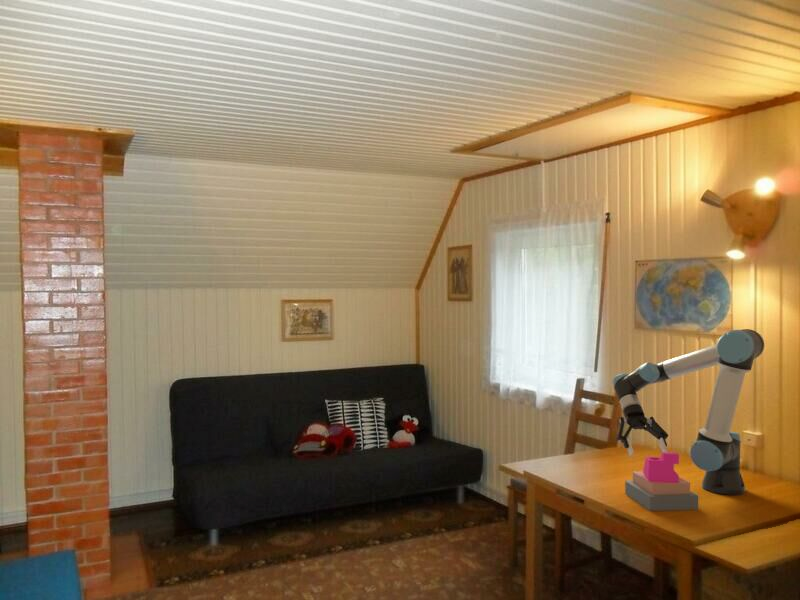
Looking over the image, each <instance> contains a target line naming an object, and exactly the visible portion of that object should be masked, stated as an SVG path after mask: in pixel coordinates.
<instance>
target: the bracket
mask: <svg viewBox="0 0 800 600" xmlns="http://www.w3.org/2000/svg"><path fill="white" fill-rule="evenodd" d="M661 452H662V451H661ZM675 465H680V454H679V453H678V452H670V451H668V452H662V453H661V456H646V457H645V461H644V464H643V467H642V468H643V469H642V471H643V473H644V475H645V477H646V478H647V480H648V481H650V482H668V483H679V477H680V476H679V475H678V473H677V472H676V471H675Z"/></svg>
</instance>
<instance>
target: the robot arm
mask: <svg viewBox="0 0 800 600" xmlns="http://www.w3.org/2000/svg"><path fill="white" fill-rule="evenodd" d="M764 348H765V340H764V338H763V337H762V335H761V334H760V333H759V332H757V331H755V330H753V329H750V328H748V329H747V328H745V329H733V330H728V331H727V332H725V333H724V334H722V335H721V336H720V337H719V339H718V341H717V343H716V344H713V345H710V346H708V347H704V348H702V349H698V350H695V351H692V352H689V353H686V354H683V355H680V356H676V357H674V358H671V359H668V360H667V359H666V360H665V361H662V362H658V363H655V364H654V363H653V362H651V361H646V362H645V363H644V364H641V365H640V366H639V367H638V368H636V369H634V370H633V371H631V373H630V374H628V373H620V374H617V375H615V376H614V377H613V379H612V385H613V389H614V391H615V393H616V395H617V396H616V397H617V398H618V402H619V405H620V408H621V410H622V413H623V415H624V416H623V417H622V416H621V417H620V418H619V420H618V424H619V426H618V430H617V436H616V440H617V441H620V442H621V443H622V444H623V446H624V448H625V449H627V453H628V455H629V457H630V458H633V456H634V454H635V451H634V448H633V446H632V442H631V440H630V438H628V437H629V435H630V433H631V431H632V429H633V430H644V431H646V432H647V433H649V434H650V435H652V436H653V437H654V438H656V439H658V444H659V448H660V450H661V452H669V451H668V448H667V446H668V443H667V441H666V439H667V438H668V436H669V434H668V433H667V432H666V431H665V429H663V427H662V426H661V425H659V424H658V422H657V421H656V420H655V418H654V417H653V416H650V417H646V416H645V412H644V410H643V407H642V403H641V402H640V399H639V397H638V394H637V393H638V392H639V391H641V390H642V389H644V388H645V387H647V386H649V385H652V384H653V385H654V384H657V383H664V382H665V381H668V380H670V379H671V380H672V379H674V378H677V377H678V378H679V377H680V376H684V375H687V374H691V373H695V372H697V371H701V370H704V369H707V368H710V367H714V366H717V365H718V366H719V370H718V374H717V378H716V381H715V385H714V388H713V393H712V396H711V400H710V401H711V402H710V404H709V409H708V413H707V416H706V419H705V424H704V426H703V427H702V428H700V429H699V430H698V434H697V437H696V441H695V442H693V443H692V445H691V446H690V448H689V457H690V460H691V461H692V463H693V465H695V466H696V467H697V468H699V469H700V470H702V471H705V473H704V476H703V479H702V481H701V487H702V488H703V489H704V490H705V491H707V492H712V493H714V494H720V495H721V494H722V495H730V496H733V495H736V496H737V495H743V494H744V493H745V492H746V485H745V482H744V479H743V476H742V474H741V443H742V441H741V435H740V433H738V432H735V431H731V429H732V425H733V421H734V417H735V414H736V410H737V409H736V408H737V405H738V401H739V399H740V398H739V397H740V394H741V391H742V386H743V383H744V381H745V380H744V379H745V377H746V374H747V373H748V372H751V371H752V367H753V364H754V360H755V359H757V358H758V357H760V356H761V355H762V354H763V351H764V350H765V349H764ZM625 424H627V425H628V427H627V430H626V431H625V433H624V427H625ZM623 433H624V434H623Z"/></svg>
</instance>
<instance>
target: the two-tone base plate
mask: <svg viewBox="0 0 800 600" xmlns="http://www.w3.org/2000/svg"><path fill="white" fill-rule="evenodd" d="M624 484H625V485H624V488H625V489H624V491H625V492H624V494H625V495H626V496H628V497H629V498H630V499H632V500H633V501H635V502H636V503H638V504H640V505H641V506H642V507H644V508H645V509H646V510H648V511H650V512H656V511H658V512H660V511H685V510H686V511H687V510H688V511H690V510H691V511H693V510H699V495H698V494H697V493H695V492H693V491H691V482H689V481H688V480H685V479H684V478H682V477H681V476H679V483H668V482H650V481H648V480H647V478H646V477H645V475H644V473H643V470H641V471H632V480H625V482H624Z"/></svg>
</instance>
